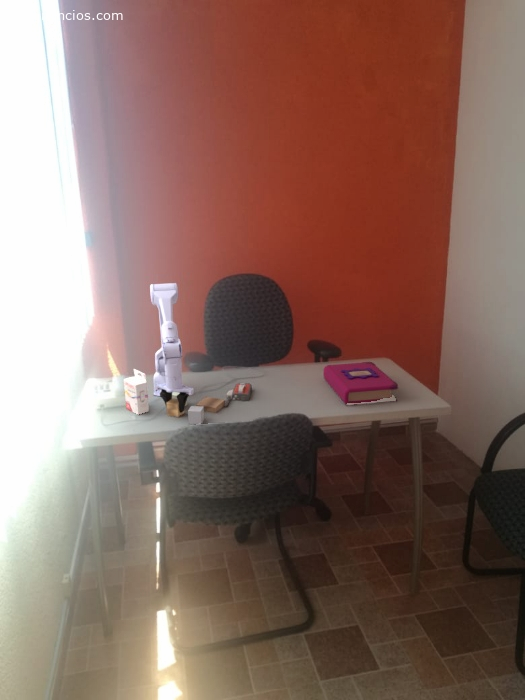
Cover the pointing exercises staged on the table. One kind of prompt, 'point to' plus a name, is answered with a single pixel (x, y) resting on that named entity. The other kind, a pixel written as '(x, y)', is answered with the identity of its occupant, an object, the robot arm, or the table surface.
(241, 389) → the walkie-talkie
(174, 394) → the sage block
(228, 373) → the table surface
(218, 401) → the tan flat block
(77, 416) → the table surface
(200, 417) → the slate block
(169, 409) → the oak block
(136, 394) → the ink cartridge box
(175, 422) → the table surface
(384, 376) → the book
